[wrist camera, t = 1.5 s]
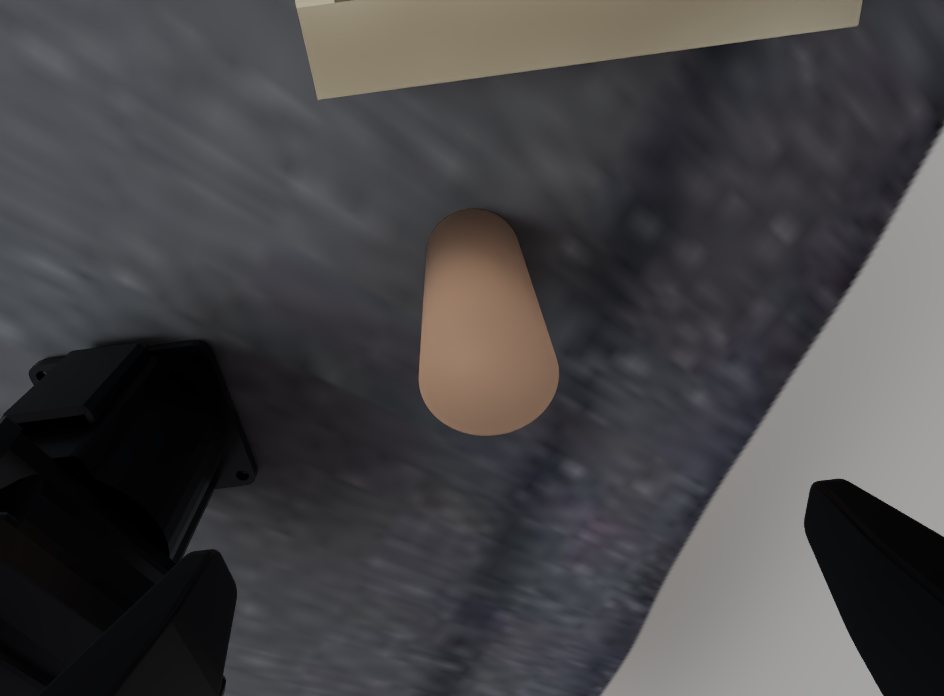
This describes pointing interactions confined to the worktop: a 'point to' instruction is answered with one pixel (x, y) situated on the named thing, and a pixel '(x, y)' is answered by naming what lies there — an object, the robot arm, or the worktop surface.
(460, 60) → the socket block
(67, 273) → the worktop surface
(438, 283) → the peg
